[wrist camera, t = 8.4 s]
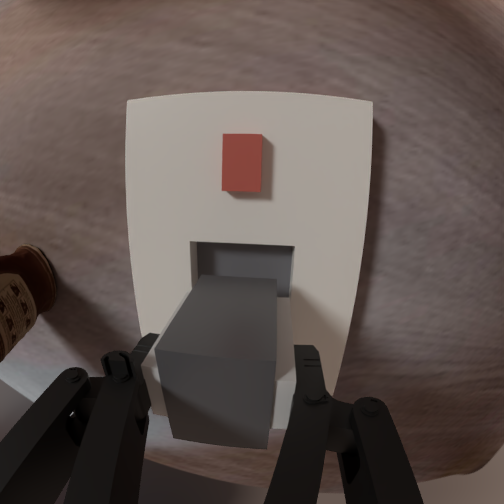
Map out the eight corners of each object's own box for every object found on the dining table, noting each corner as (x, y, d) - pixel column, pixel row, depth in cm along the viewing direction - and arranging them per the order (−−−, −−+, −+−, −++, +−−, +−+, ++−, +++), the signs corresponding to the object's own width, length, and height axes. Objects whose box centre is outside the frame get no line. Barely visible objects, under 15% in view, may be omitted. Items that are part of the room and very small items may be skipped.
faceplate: (141, 105, 16) (120, 98, 14) (362, 107, 16) (377, 99, 13) (159, 366, 22) (147, 387, 20) (329, 379, 22) (334, 403, 19)
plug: (201, 274, 16) (154, 349, 9) (276, 278, 15) (276, 361, 9) (205, 350, 17) (173, 438, 10) (271, 355, 17) (266, 449, 10)
